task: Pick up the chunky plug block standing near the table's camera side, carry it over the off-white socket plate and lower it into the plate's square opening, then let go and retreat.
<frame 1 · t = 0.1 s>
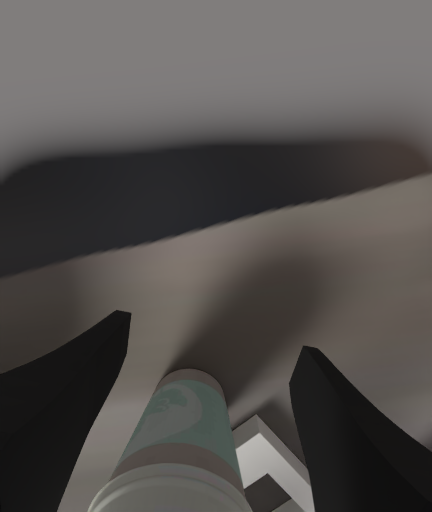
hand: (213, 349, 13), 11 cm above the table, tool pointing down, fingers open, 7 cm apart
coffee cup: (189, 398, 25), on the table
socket plate: (245, 497, 27), on the table
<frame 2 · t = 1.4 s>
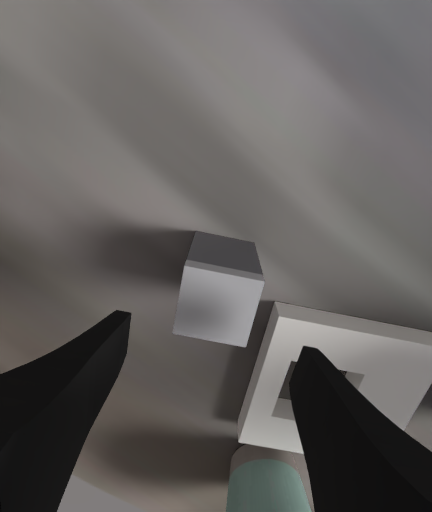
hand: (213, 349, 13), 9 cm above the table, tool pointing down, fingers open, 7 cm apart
coffee cup: (262, 460, 28), on the table
plug: (219, 263, 21), on the table
socket plate: (327, 379, 24), on the table
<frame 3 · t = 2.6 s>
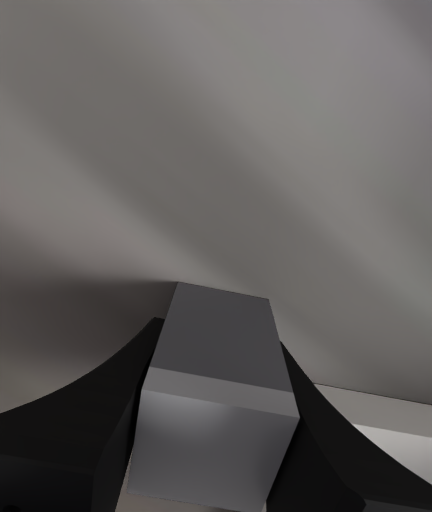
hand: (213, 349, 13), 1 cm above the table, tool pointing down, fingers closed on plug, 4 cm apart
plug: (214, 329, 14), on the table, touching gripper
socket plate: (369, 481, 17), on the table
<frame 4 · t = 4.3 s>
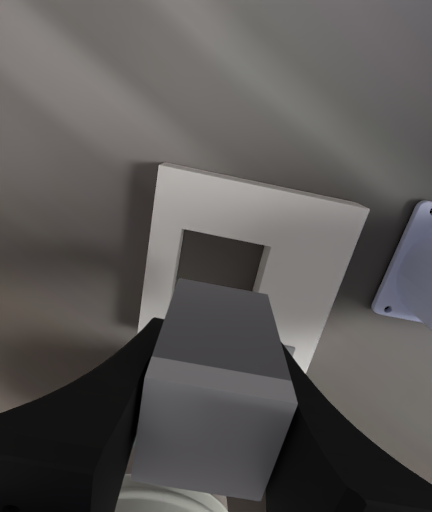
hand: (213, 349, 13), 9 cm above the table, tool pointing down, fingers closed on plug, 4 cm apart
coffee cup: (179, 379, 25), on the table
plug: (214, 324, 14), point 7 cm above the table, touching gripper
socket plate: (240, 270, 21), on the table
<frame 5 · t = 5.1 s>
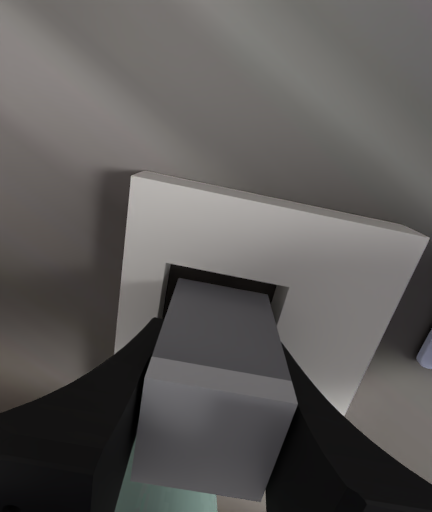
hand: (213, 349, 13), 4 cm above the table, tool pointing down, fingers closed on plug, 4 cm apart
coffee cup: (168, 438, 20), on the table
plug: (214, 324, 14), point 2 cm above the table, touching gripper
socket plate: (245, 310, 16), on the table
when the fingers open (3 cm above the table, at t = 5.7 s): plug stays where it is, resting in socket plate.
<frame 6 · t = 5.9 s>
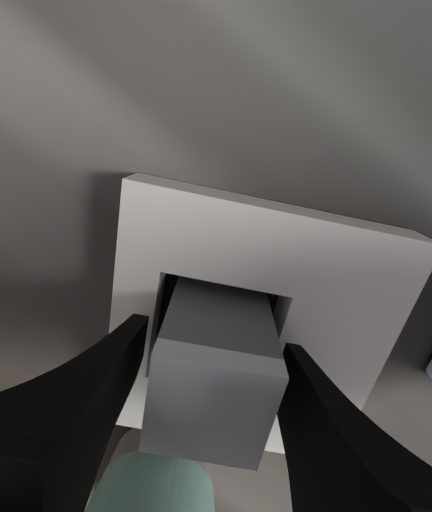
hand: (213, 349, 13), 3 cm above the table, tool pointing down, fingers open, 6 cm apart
coffee cup: (164, 452, 19), on the table
plug: (215, 313, 15), resting in socket plate
socket plate: (245, 320, 15), on the table
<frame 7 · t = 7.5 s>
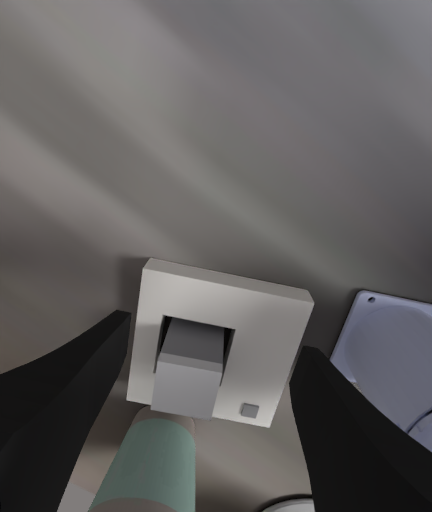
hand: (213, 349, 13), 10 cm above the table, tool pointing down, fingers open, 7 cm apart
coffee cup: (165, 424, 29), on the table
plug: (195, 335, 25), resting in socket plate
socket plate: (213, 339, 25), on the table
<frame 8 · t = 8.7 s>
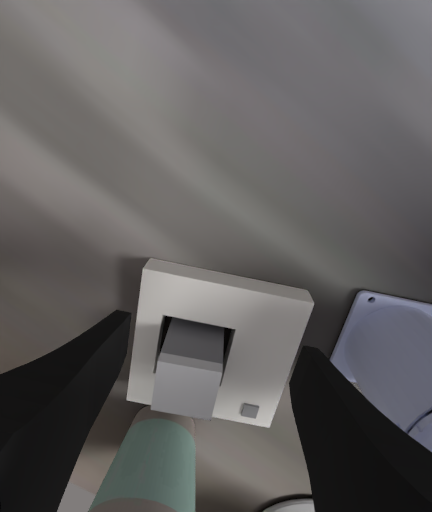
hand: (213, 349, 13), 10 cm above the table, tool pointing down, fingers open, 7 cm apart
coffee cup: (165, 424, 29), on the table
plug: (195, 335, 25), resting in socket plate
socket plate: (213, 339, 25), on the table
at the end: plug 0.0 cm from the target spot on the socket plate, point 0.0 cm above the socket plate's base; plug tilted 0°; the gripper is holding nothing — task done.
